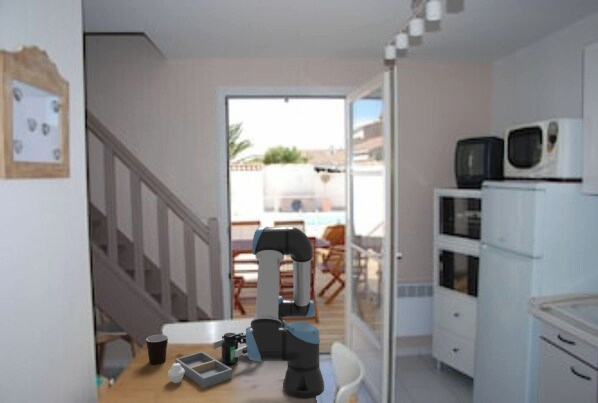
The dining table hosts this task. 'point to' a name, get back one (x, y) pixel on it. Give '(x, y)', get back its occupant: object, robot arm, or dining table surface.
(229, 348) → the supplement bottle
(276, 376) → the dining table surface
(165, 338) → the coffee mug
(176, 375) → the white lumpy chunk
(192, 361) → the caddy
